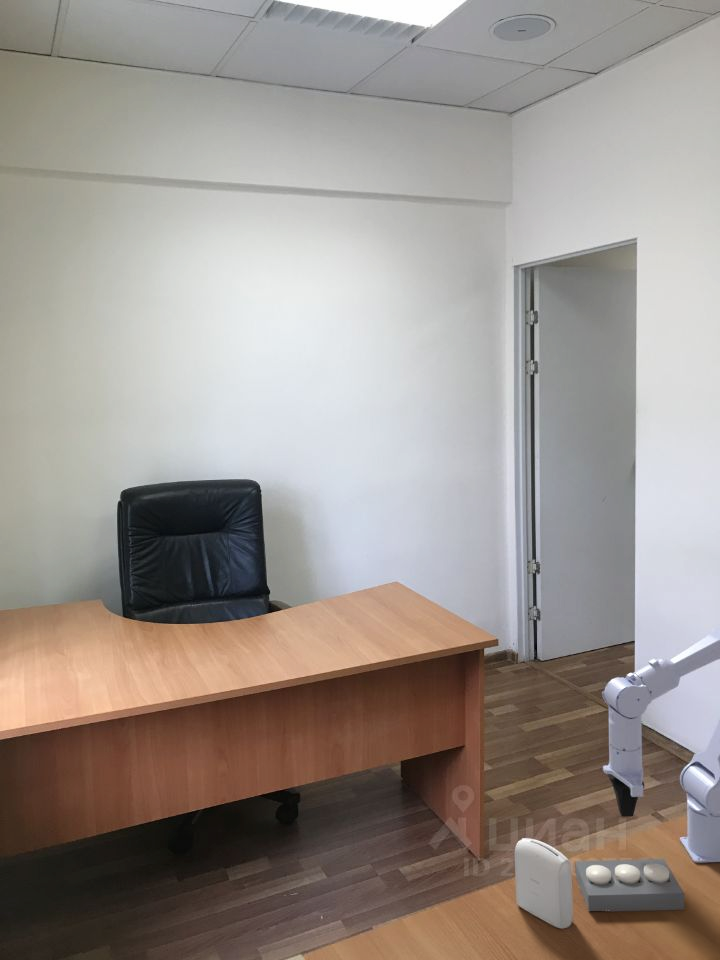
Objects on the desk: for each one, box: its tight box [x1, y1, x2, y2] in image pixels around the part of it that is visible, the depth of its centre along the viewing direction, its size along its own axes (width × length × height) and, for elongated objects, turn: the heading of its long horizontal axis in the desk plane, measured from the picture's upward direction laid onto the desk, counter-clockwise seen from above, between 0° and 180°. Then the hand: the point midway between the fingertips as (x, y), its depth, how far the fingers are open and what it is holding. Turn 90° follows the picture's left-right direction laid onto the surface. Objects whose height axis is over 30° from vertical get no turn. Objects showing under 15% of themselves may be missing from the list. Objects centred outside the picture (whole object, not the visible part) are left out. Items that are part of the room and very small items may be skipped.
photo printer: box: [514, 837, 574, 930], centre depth 138 cm, size 10×4×12 cm, turn 39°
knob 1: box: [586, 865, 611, 885], centre depth 143 cm, size 4×4×4 cm
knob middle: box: [615, 864, 640, 884], centre depth 143 cm, size 4×4×4 cm
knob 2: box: [644, 863, 669, 883], centre depth 142 cm, size 4×4×4 cm
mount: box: [574, 858, 685, 912], centre depth 143 cm, size 16×10×3 cm, turn 88°
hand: (626, 814), depth 151 cm, fingers closed
